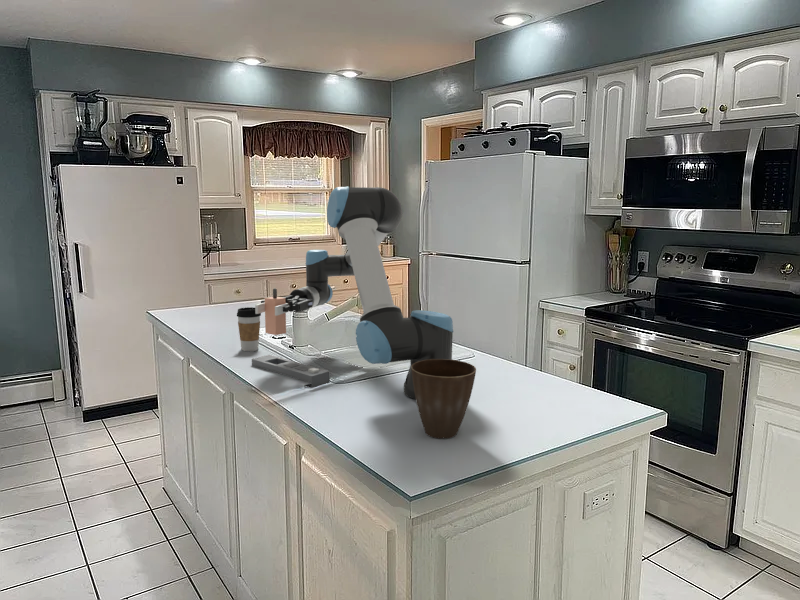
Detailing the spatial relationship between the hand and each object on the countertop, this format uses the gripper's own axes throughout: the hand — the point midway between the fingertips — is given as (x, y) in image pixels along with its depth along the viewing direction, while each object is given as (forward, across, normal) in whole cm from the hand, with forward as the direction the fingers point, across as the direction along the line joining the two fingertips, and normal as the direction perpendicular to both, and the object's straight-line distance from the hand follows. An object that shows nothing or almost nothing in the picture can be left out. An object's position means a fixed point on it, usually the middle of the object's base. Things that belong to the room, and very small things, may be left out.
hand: (266, 310), depth 183 cm
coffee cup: (-27, +24, -20) cm, 41 cm away
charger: (-5, 0, -8) cm, 9 cm away
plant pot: (+24, -62, -21) cm, 70 cm away
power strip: (-3, -6, -20) cm, 22 cm away
